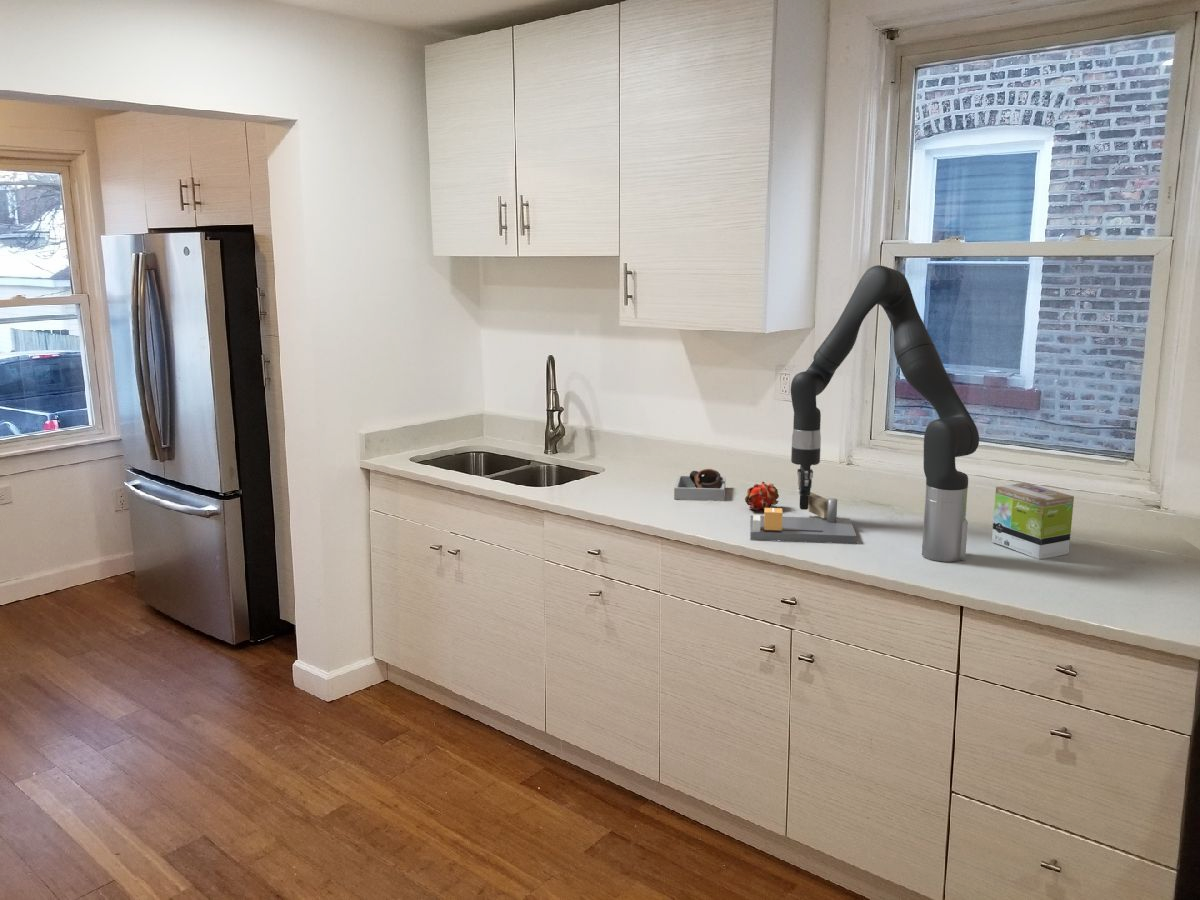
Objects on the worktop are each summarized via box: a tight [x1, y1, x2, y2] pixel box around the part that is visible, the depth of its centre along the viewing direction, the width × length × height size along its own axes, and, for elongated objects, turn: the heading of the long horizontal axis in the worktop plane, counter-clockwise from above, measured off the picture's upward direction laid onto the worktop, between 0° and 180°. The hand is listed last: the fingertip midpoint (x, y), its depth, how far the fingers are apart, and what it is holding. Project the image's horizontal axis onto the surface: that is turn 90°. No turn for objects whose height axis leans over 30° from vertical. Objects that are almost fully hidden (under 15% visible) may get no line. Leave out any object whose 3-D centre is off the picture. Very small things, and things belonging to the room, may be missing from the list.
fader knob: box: [763, 507, 784, 530], centre depth 240 cm, size 4×4×5 cm
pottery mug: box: [689, 468, 723, 489], centre depth 288 cm, size 12×10×8 cm
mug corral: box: [673, 475, 727, 502], centre depth 287 cm, size 15×17×4 cm
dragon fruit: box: [744, 481, 780, 511], centre depth 267 cm, size 8×8×12 cm
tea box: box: [991, 482, 1075, 560], centre depth 228 cm, size 15×10×15 cm, turn 23°
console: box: [749, 497, 858, 544], centre depth 244 cm, size 26×16×8 cm, turn 81°
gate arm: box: [806, 491, 829, 518], centre depth 255 cm, size 12×2×4 cm, turn 19°
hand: (803, 508), depth 255 cm, fingers closed
